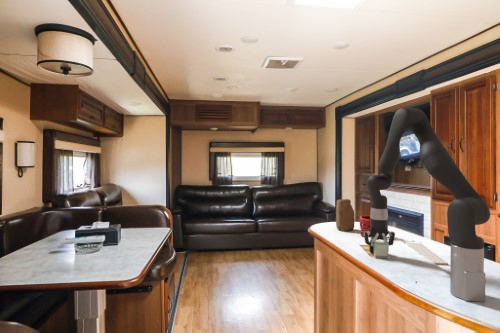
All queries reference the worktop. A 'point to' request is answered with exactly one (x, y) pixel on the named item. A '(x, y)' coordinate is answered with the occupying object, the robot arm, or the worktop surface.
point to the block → (344, 215)
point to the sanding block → (380, 249)
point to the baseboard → (426, 253)
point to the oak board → (366, 249)
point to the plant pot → (365, 225)
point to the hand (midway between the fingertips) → (379, 253)
